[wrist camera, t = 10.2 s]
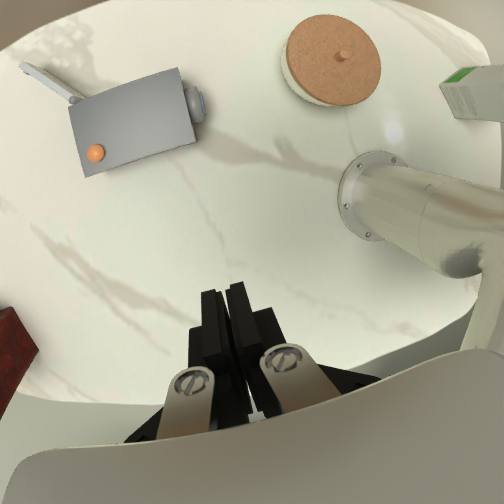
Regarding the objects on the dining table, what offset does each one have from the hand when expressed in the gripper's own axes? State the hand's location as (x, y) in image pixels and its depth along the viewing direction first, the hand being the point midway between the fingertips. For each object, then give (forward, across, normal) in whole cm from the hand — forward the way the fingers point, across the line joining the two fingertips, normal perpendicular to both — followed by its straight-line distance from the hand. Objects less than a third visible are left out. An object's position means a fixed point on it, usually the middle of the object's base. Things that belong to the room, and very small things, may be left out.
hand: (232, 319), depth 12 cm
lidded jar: (+27, -16, -13) cm, 34 cm away
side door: (+27, +15, -19) cm, 36 cm away
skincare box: (+27, -42, -9) cm, 51 cm away
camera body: (+27, +6, -11) cm, 30 cm away
